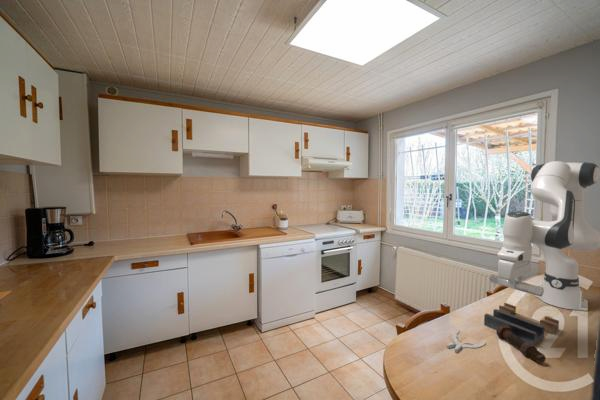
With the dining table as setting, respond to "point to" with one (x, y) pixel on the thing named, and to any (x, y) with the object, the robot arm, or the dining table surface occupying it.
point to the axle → (518, 285)
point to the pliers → (459, 345)
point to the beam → (548, 323)
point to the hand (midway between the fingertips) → (514, 286)
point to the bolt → (520, 343)
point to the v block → (516, 326)
